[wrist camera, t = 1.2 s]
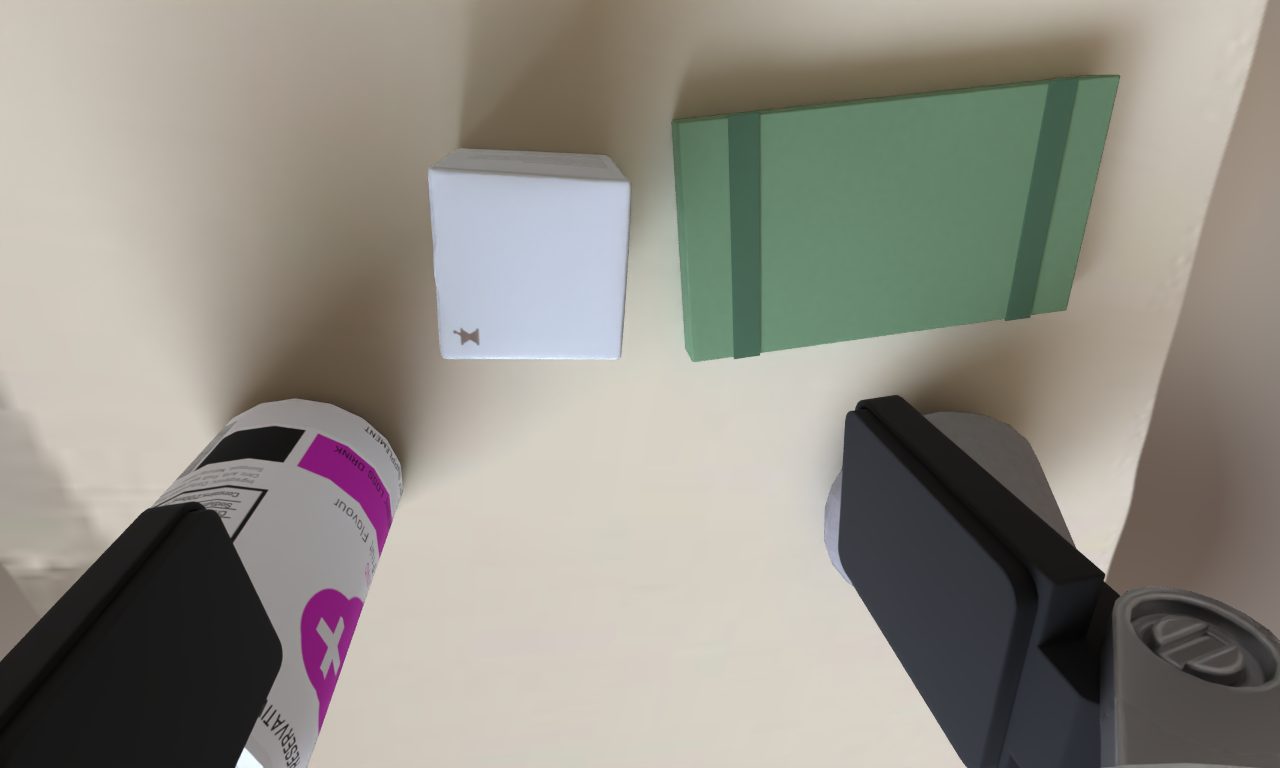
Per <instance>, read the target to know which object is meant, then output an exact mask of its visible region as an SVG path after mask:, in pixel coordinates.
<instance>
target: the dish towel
mask: <svg viewBox="0 0 1280 768" xmlns="http://www.w3.org/2000/svg"><path fill="white" fill-rule="evenodd" d="M1119 79H1120V75H1085V76H1075V77H1066V78H1057V79H1047V80H1038V81H1029V82H1019V83H1010V84H1001V85H991V86H982V87H973V88H964V89H954V90H945V91H936V92H926V93H917V94H908V95H898V96H889V97H880V98H870V99H861V100H852V101H842V102H833V103H824V104H815V105H805V106H796V107H787V108H777V109H768V110H759V111H749V112H740V113H731V114H721V115H712V116H703V117H693V118H684V119H675V120H672V138H673V155H674V171H675V187H676V203H677V220H678V236H679V252H680V268H681V284H682V301H683V317H684V333H685V349H686V350H687V352H688V354H689V356H690V358H691V360H692V362H699V361H706V360H713V359H720V358H728V357H734V359H738V358H745V357H752V356H759V355H760V353H763V352H770V351H778V350H785V349H792V348H799V347H806V346H813V345H820V344H828V343H835V342H842V341H849V340H856V339H863V338H870V337H878V336H885V335H892V334H899V333H906V332H913V331H920V330H928V329H935V328H942V327H949V326H956V325H963V324H970V323H978V322H985V321H992V320H999V319H1005V320H1006V321H1009V320H1016V319H1023V318H1030V316H1031V315H1035V314H1042V313H1049V312H1056V311H1063V310H1066V309H1067V305H1068V301H1069V296H1070V292H1071V288H1072V283H1073V279H1074V275H1075V270H1076V266H1077V262H1078V257H1079V253H1080V249H1081V244H1082V240H1083V236H1084V231H1085V227H1086V223H1087V218H1088V214H1089V210H1090V205H1091V201H1092V196H1093V192H1094V188H1095V183H1096V179H1097V175H1098V170H1099V166H1100V162H1101V157H1102V153H1103V149H1104V144H1105V140H1106V136H1107V131H1108V127H1109V123H1110V118H1111V114H1112V110H1113V105H1114V101H1115V97H1116V92H1117V88H1118V84H1119Z"/></svg>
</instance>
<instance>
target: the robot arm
mask: <svg viewBox="0 0 1280 768" xmlns="http://www.w3.org/2000/svg"><path fill="white" fill-rule="evenodd" d="M838 553H839V558H840V562H841V565H842V567H843V569H844V571H845V573H846V575H847V576H848V578H849V580H850V581H851V583H852V584H853V586H854V588H855V589H856V591H857V592H858V594H859V596H860V597H861V599H862V601H863V602H864V604H865V605H866V607H867V609H868V610H869V612H870V613H871V615H872V617H873V618H874V620H875V622H876V623H877V625H878V626H879V628H880V630H881V631H882V633H883V635H884V636H885V638H886V639H887V641H888V643H889V644H890V646H891V647H892V649H893V651H894V652H895V654H896V656H897V657H898V659H899V660H900V662H901V664H902V665H903V667H904V668H905V670H906V672H907V673H908V675H909V677H910V678H911V680H912V681H913V683H914V685H915V686H916V688H917V689H918V691H919V693H920V694H921V696H922V698H923V699H924V701H925V702H926V704H927V706H928V707H929V709H930V710H931V712H932V714H933V715H934V717H935V719H936V720H937V722H938V723H939V725H940V727H941V728H942V730H943V731H944V733H945V735H946V736H947V738H948V740H949V741H950V743H951V744H952V746H953V748H954V749H955V751H956V753H957V754H958V756H959V757H960V759H961V760H962V762H963V763H964V764H965V766H966V767H967V768H1280V640H1279V639H1278V638H1277V637H1276V636H1275V635H1274V634H1273V633H1272V632H1271V631H1270V630H1269V629H1267V628H1266V627H1264V626H1263V625H1261V624H1260V623H1258V622H1257V621H1255V620H1254V619H1252V618H1251V617H1249V616H1248V615H1247V614H1245V613H1243V612H1241V611H1239V610H1237V609H1235V608H1233V607H1231V606H1229V605H1227V604H1225V603H1222V602H1220V601H1218V600H1215V599H1212V598H1210V597H1206V596H1204V595H1201V594H1197V593H1194V592H1192V591H1186V590H1181V589H1175V588H1170V587H1141V588H1138V589H1134V590H1130V591H1127V592H1125V593H1124V594H1123V595H1122V596H1120V595H1119V594H1118V593H1116V592H1115V591H1114V590H1113V589H1112V588H1111V587H1110V586H1108V585H1107V584H1106V583H1105V582H1104V578H1105V573H1104V572H1102V571H1101V570H1100V569H1099V568H1098V567H1097V566H1095V565H1094V564H1093V563H1092V562H1091V561H1090V560H1089V559H1087V558H1086V557H1085V556H1084V555H1083V554H1082V553H1080V552H1079V551H1078V550H1077V549H1076V548H1075V547H1074V546H1072V545H1071V544H1070V543H1069V542H1068V541H1067V540H1066V539H1064V538H1063V537H1062V536H1061V535H1060V534H1059V533H1057V532H1056V531H1055V530H1054V529H1053V528H1052V527H1051V526H1049V525H1048V524H1047V523H1046V522H1045V521H1044V520H1042V519H1041V518H1040V517H1039V516H1038V515H1037V514H1036V513H1034V512H1033V511H1032V510H1031V509H1030V508H1029V507H1027V506H1026V505H1025V504H1024V503H1023V502H1022V501H1021V500H1019V499H1018V498H1017V497H1016V496H1015V495H1014V494H1012V493H1011V492H1010V491H1009V490H1008V489H1007V488H1006V487H1004V486H1003V485H1002V484H1001V483H1000V482H999V481H998V480H996V479H995V478H994V477H993V476H992V475H991V474H989V473H988V472H987V471H986V470H985V469H984V468H983V467H981V466H980V465H979V464H978V463H977V462H976V461H974V460H973V459H972V458H971V457H970V456H969V455H968V454H966V453H965V452H964V451H963V450H962V449H961V448H959V447H958V446H957V445H956V444H955V443H954V442H953V441H951V440H950V439H949V438H948V437H947V436H946V435H945V434H943V433H942V432H941V431H940V430H939V429H938V428H936V427H935V426H934V425H933V424H932V423H931V422H930V421H928V420H927V419H926V418H925V417H924V416H923V415H921V414H920V413H919V412H918V411H917V410H916V409H915V408H913V407H912V406H911V405H910V404H909V403H908V402H906V401H905V400H904V399H903V398H902V397H900V396H898V395H893V396H886V397H879V398H873V399H866V400H861V401H859V402H858V403H857V406H856V408H855V411H850V412H848V413H847V416H846V420H845V435H844V452H843V469H842V486H841V503H840V520H839V537H838ZM282 659H283V650H282V645H281V642H280V639H279V637H278V635H277V633H276V631H275V629H274V627H273V625H272V623H271V621H270V619H269V617H268V615H267V613H266V610H265V608H264V606H263V604H262V602H261V600H260V598H259V596H258V594H257V592H256V590H255V588H254V586H253V584H252V581H251V579H250V577H249V575H248V573H247V571H246V569H245V567H244V565H243V563H242V561H241V559H240V557H239V555H238V553H237V550H236V548H235V546H234V544H233V542H232V540H231V538H230V536H229V534H228V532H227V530H226V528H225V526H224V524H223V522H222V519H221V518H220V516H219V514H218V513H217V512H216V511H214V510H211V509H206V508H205V506H203V505H202V504H201V503H199V502H195V501H192V502H185V503H179V504H172V505H165V506H159V507H153V508H149V509H147V510H145V511H144V512H143V513H141V514H140V515H139V516H138V517H137V519H136V520H135V521H134V522H133V523H132V524H131V525H130V526H129V527H128V528H127V529H126V530H125V531H124V532H123V533H122V534H121V535H120V536H119V537H118V539H117V540H116V541H115V542H114V543H113V544H112V545H111V546H110V547H109V548H108V549H107V550H106V551H105V552H104V553H103V554H102V555H101V556H100V557H99V558H98V560H97V561H96V562H95V563H94V564H93V565H92V566H91V567H90V568H89V569H88V570H87V571H86V572H85V573H84V574H83V575H82V576H81V577H80V578H79V580H78V581H77V582H76V583H75V584H74V585H73V586H72V587H71V588H70V589H69V590H68V591H67V592H66V593H65V594H64V595H63V596H62V597H61V598H60V600H59V601H58V602H57V603H56V604H55V605H54V606H53V607H52V608H51V609H50V610H49V611H48V612H47V613H46V614H45V615H44V616H43V617H42V618H41V619H40V621H39V622H38V623H37V624H36V625H35V626H34V627H33V628H32V629H31V630H30V631H29V632H28V633H27V634H26V635H25V637H23V638H22V639H21V641H20V642H19V643H18V644H17V645H16V646H15V647H14V648H13V649H12V650H11V651H10V652H9V653H8V654H7V655H6V656H5V657H4V658H3V660H2V661H1V662H0V768H235V767H236V765H237V762H238V760H239V758H240V756H241V754H242V752H243V749H244V747H245V745H246V743H247V741H248V738H249V736H250V734H251V732H252V730H253V727H254V725H255V723H256V721H257V719H258V717H259V714H260V712H261V710H262V708H263V706H264V703H265V701H266V699H267V697H268V695H269V692H270V690H271V688H272V686H273V684H274V682H275V679H276V677H277V675H278V673H279V671H280V668H281V665H282Z"/></svg>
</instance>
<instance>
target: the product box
mask: <svg viewBox="0 0 1280 768" xmlns="http://www.w3.org/2000/svg"><path fill="white" fill-rule="evenodd" d="M428 184H429V198H430V212H431V225H432V239H433V258H434V277H435V283H436V296H437V312H438V328H439V343H440V353H441V355H442V357H443V358H445V359H619V358H621V351H622V340H623V327H624V314H625V300H626V285H627V269H628V253H629V236H630V217H631V182H630V181H629V180H628V179H627V178H626V176H625V175H624V174H623V172H622V171H621V170H620V169H619V168H618V166H617V165H616V164H615V163H614V161H613V160H612V159H611V158H610V157H609V156H608V155H597V154H578V153H556V152H534V151H511V150H487V149H465V148H459V149H457V150H455V151H453V152H452V153H450V154H449V155H447V156H446V157H444V158H443V159H441V160H440V161H439V162H437V163H436V164H434V165H433V166H431V167H429V169H428Z"/></svg>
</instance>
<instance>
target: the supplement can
mask: <svg viewBox="0 0 1280 768" xmlns="http://www.w3.org/2000/svg"><path fill="white" fill-rule="evenodd" d="M402 492H403V483H402V473H401V464H400V462H399V461H398V459H397V457H396V455H395V453H394V452H393V450H392V448H391V446H390V444H389V443H388V441H387V439H386V438H385V437H383V436H382V435H381V434H380V433H379V432H378V431H377V430H375V429H374V428H373V427H372V426H371V425H370V424H369V423H368V422H366V421H365V420H364V419H363V418H361V417H359V416H357V415H354V414H352V413H350V412H348V411H346V410H343V409H341V408H339V407H337V406H335V405H332V404H329V403H322V402H315V401H309V400H302V399H296V398H295V399H288V400H281V401H274V402H267V403H261V404H259V405H257V406H255V407H253V408H251V409H249V410H247V411H245V412H243V413H241V414H239V415H237V416H236V417H234V418H232V419H231V421H230V422H229V423H228V424H227V425H226V426H225V427H224V428H223V429H222V430H221V431H220V433H219V434H218V435H217V436H216V437H215V438H214V439H213V440H212V441H211V442H210V443H209V445H208V446H207V447H206V448H205V449H204V450H203V451H202V452H201V453H200V454H199V455H198V457H197V458H196V459H195V460H194V461H193V462H192V463H191V464H190V465H189V466H188V467H187V469H186V470H185V471H184V472H183V473H182V474H181V475H180V476H179V477H178V478H177V479H176V481H175V482H174V483H173V484H172V485H171V486H170V487H169V488H168V489H167V490H166V491H165V493H164V494H163V495H162V496H161V497H160V498H159V499H158V500H157V501H156V502H155V503H154V505H153V506H152V507H151V508H153V507H159V506H165V505H172V504H179V503H185V502H192V501H195V502H199V503H201V504H202V505H203V506H205V508H206V509H211V510H214V511H216V512H217V513H218V514H219V516H220V518H221V519H222V522H223V524H224V526H225V528H226V530H227V532H228V534H229V536H230V538H231V540H232V542H233V544H234V546H235V548H236V550H237V553H238V555H239V557H240V559H241V561H242V563H243V565H244V567H245V569H246V571H247V573H248V575H249V577H250V579H251V581H252V584H253V586H254V588H255V590H256V592H257V594H258V596H259V598H260V600H261V602H262V604H263V606H264V608H265V610H266V613H267V615H268V617H269V619H270V621H271V623H272V625H273V627H274V629H275V631H276V633H277V635H278V637H279V639H280V642H281V645H282V650H283V659H282V665H281V668H280V671H279V673H278V675H277V677H276V679H275V682H274V684H273V686H272V688H271V690H270V692H269V695H268V697H267V699H266V701H265V703H264V706H263V708H262V710H261V712H260V714H259V717H258V719H257V721H256V723H255V725H254V727H253V730H252V732H251V734H250V736H249V738H248V741H247V743H246V745H245V747H244V749H243V752H242V754H241V756H240V758H239V760H238V762H237V765H236V767H235V768H307V766H308V764H309V761H310V758H311V755H312V752H313V750H314V747H315V744H316V741H317V738H318V736H319V733H320V730H321V727H322V724H323V721H324V718H325V715H326V712H327V709H328V706H329V704H330V701H331V698H332V695H333V692H334V689H335V686H336V683H337V680H338V677H339V675H340V672H341V669H342V666H343V663H344V660H345V657H346V654H347V651H348V648H349V646H350V643H351V640H352V637H353V634H354V631H355V628H356V625H357V622H358V619H359V617H360V614H361V611H362V608H363V605H364V602H365V599H366V596H367V593H368V590H369V587H370V585H371V582H372V579H373V576H374V573H375V570H376V567H377V564H378V561H379V558H380V556H381V553H382V550H383V547H384V544H385V541H386V538H387V535H388V532H389V529H390V527H391V524H392V521H393V518H394V515H395V512H396V509H397V506H398V503H399V500H400V497H401V495H402Z"/></svg>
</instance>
